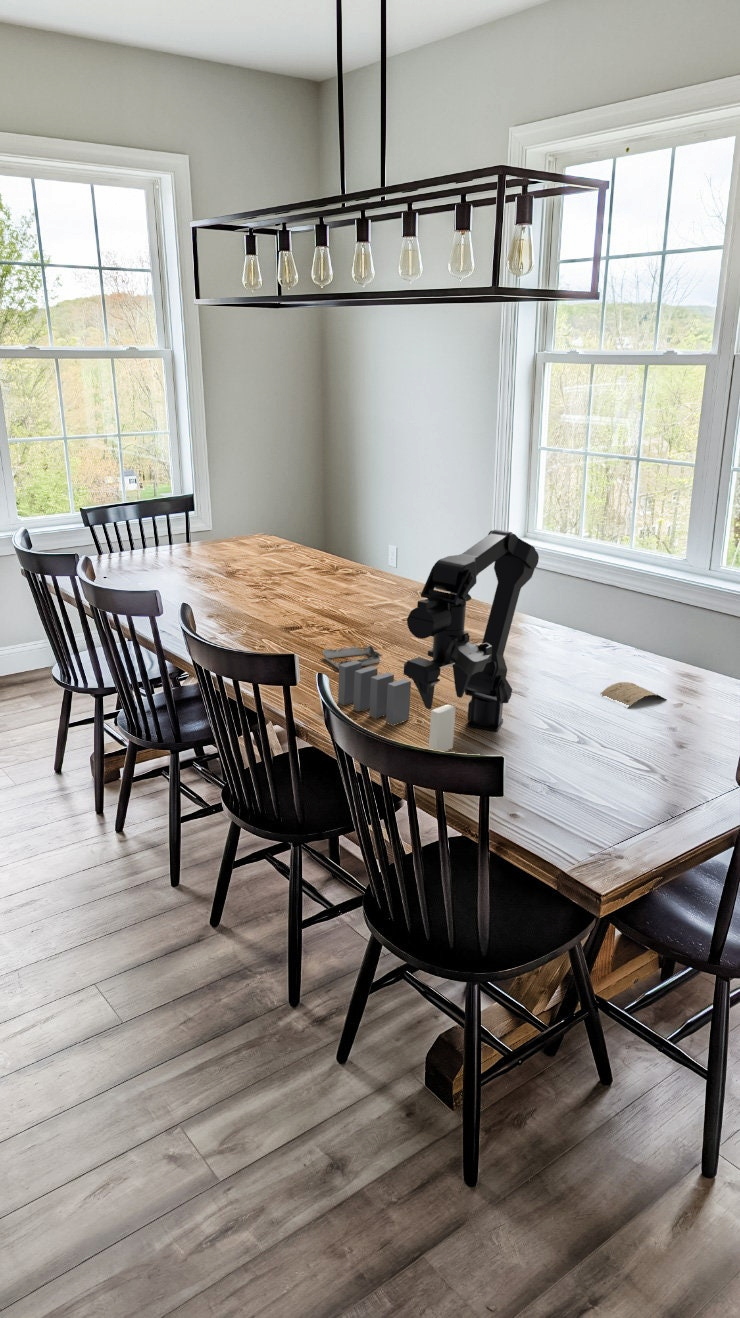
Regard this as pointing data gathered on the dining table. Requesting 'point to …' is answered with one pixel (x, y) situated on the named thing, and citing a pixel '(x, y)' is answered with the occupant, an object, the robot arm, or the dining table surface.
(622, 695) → the tan curved piece
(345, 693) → the domino
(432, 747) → the loose domino
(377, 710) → the domino
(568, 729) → the dining table surface
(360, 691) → the domino
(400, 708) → the domino
